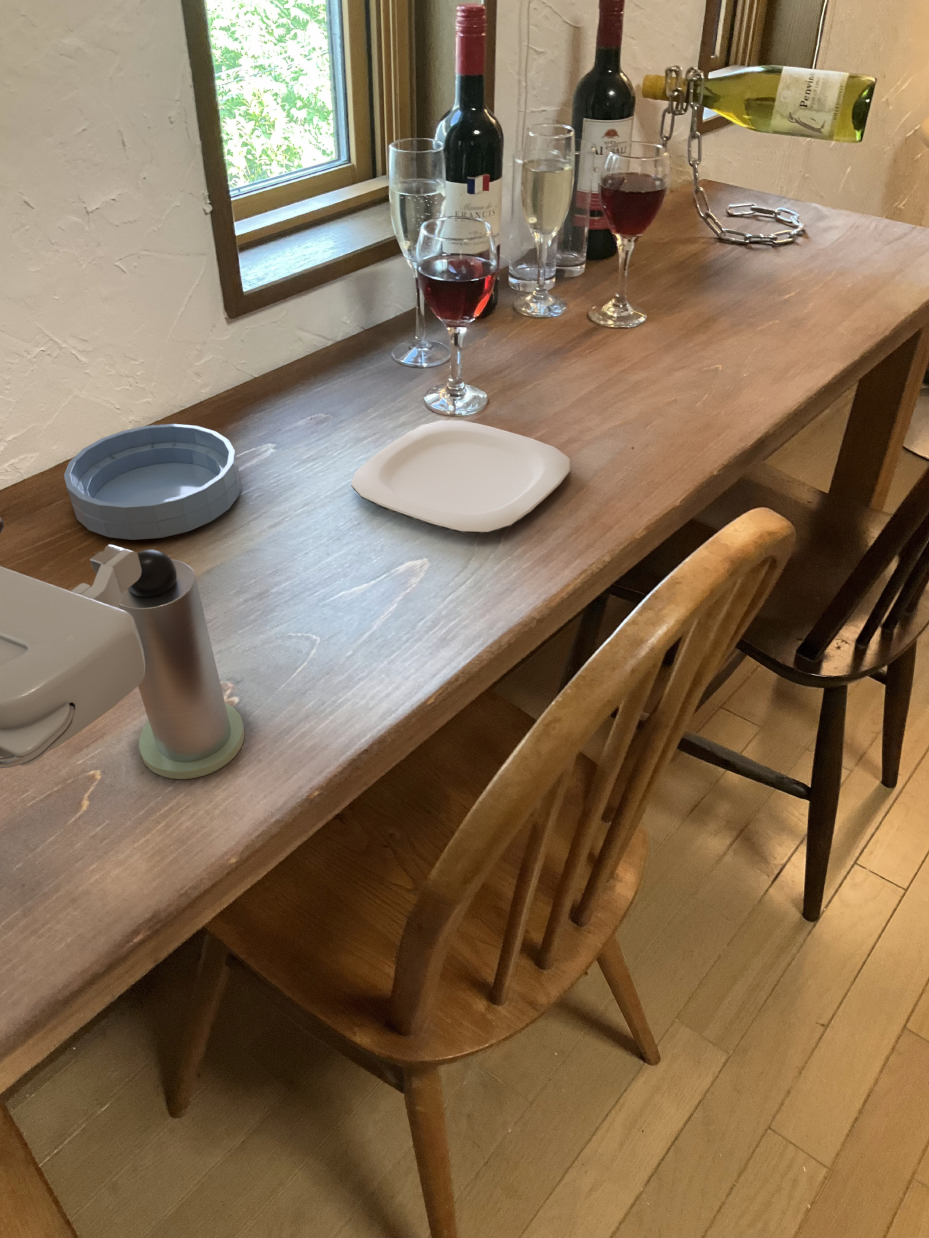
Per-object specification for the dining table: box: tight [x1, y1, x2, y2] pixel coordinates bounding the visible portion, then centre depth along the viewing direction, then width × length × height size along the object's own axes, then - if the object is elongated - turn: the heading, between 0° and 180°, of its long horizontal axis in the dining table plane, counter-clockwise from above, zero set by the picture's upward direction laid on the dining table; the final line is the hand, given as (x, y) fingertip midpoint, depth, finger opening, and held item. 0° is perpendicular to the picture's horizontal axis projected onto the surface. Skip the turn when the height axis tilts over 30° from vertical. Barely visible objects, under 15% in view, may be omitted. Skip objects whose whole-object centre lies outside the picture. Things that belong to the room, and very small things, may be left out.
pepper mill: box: [119, 549, 231, 762], centre depth 61 cm, size 5×5×15 cm
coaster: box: [138, 702, 245, 780], centre depth 66 cm, size 7×7×1 cm
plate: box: [350, 419, 571, 535], centre depth 92 cm, size 18×18×2 cm
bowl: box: [63, 423, 242, 541], centre depth 90 cm, size 15×15×4 cm
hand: (58, 534), depth 51 cm, fingers open, 8 cm apart
